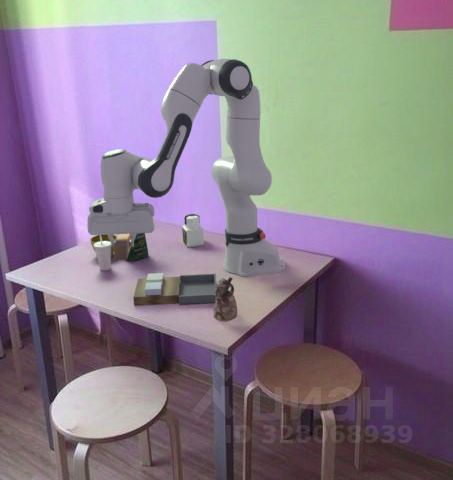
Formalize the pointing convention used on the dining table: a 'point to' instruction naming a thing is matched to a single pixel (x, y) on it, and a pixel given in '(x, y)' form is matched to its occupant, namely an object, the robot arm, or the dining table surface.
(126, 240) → the two-tone eraser block
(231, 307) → the figurine
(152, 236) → the dining table surface
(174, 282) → the brown wooden square board
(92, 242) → the flower pot
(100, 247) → the smoothie
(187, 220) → the medicine bottle
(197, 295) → the tray
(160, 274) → the tile
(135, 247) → the coffee jar
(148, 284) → the tile
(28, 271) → the dining table surface
